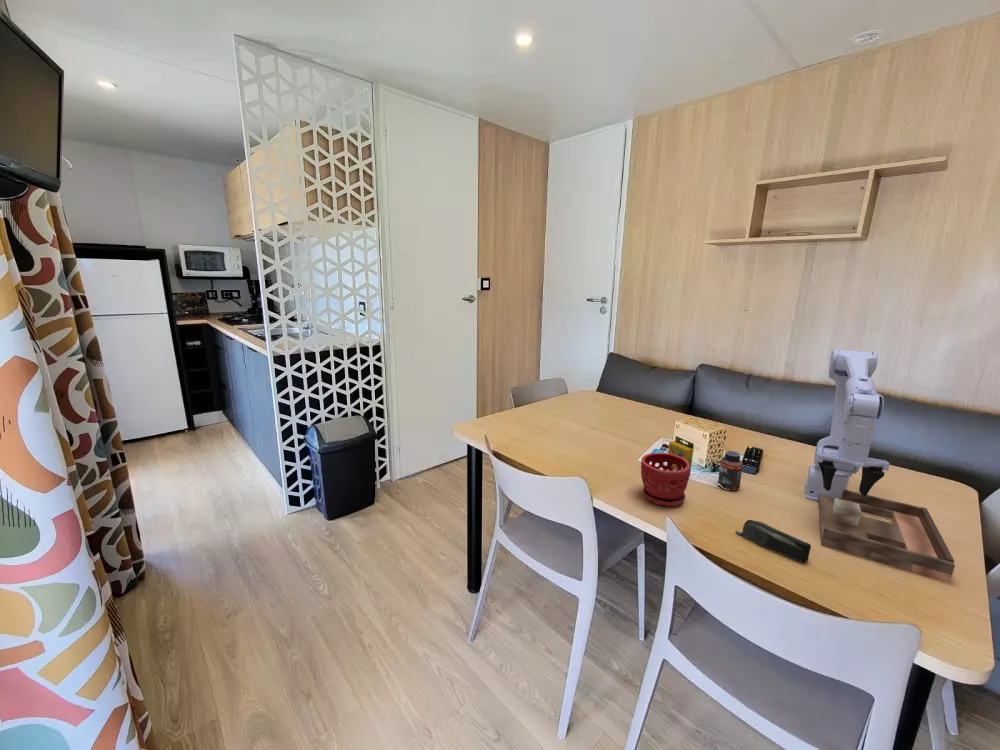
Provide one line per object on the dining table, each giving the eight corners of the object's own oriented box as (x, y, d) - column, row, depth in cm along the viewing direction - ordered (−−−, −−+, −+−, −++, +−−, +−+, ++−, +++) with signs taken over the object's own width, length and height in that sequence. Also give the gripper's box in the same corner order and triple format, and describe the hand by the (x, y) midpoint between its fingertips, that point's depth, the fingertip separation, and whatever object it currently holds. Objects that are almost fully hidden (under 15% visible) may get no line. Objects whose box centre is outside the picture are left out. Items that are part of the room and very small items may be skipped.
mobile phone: (812, 542, 95) (741, 513, 105) (809, 547, 93) (737, 517, 103) (808, 560, 96) (738, 530, 107) (804, 566, 94) (734, 534, 105)
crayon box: (665, 468, 140) (669, 436, 137) (671, 467, 141) (675, 435, 138) (684, 478, 134) (688, 444, 131) (690, 476, 135) (694, 443, 132)
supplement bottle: (739, 485, 129) (744, 451, 126) (738, 493, 124) (744, 459, 121) (718, 480, 132) (722, 447, 129) (716, 488, 127) (721, 454, 124)
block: (833, 520, 108) (836, 506, 107) (831, 511, 112) (834, 498, 111) (857, 526, 105) (861, 512, 104) (855, 517, 109) (859, 503, 108)
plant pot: (663, 484, 130) (667, 448, 127) (696, 505, 118) (701, 466, 115) (629, 491, 125) (632, 455, 122) (659, 514, 113) (664, 474, 110)
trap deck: (821, 544, 101) (824, 526, 100) (817, 497, 122) (820, 482, 121) (949, 583, 88) (955, 563, 87) (920, 523, 110) (925, 506, 109)
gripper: (827, 443, 100) (817, 493, 103) (901, 451, 96) (888, 504, 99) (815, 433, 107) (806, 481, 110) (884, 440, 103) (872, 490, 106)
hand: (844, 491), depth 105 cm, fingers open, 7 cm apart
